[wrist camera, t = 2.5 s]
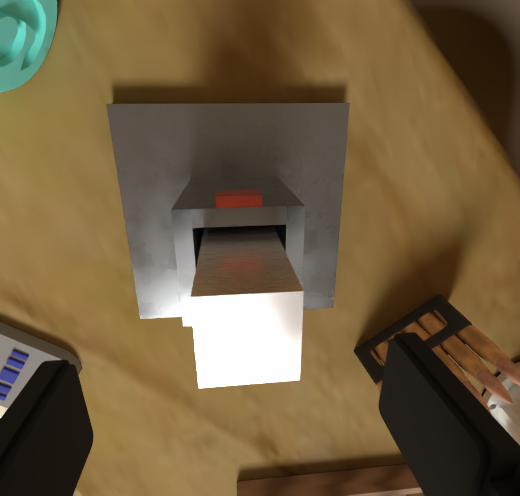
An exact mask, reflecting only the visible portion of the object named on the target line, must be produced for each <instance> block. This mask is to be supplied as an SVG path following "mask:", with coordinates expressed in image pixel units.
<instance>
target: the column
mask: <svg viewBox="0 0 520 496" xmlns="http://www.w3.org/2000/svg"><path fill="white" fill-rule="evenodd" d="M303 296H304V291H303V288H302V286H301V284H300V282H299V280H298V278H297V276H296V273H295V271H294V269H293V267H292V265H291V263H290V261H289V258H288V256H287V254H286V252H285V250H284V248H283V245H282V243H281V241H280V239H279V237H278V235H277V233H276V230H275V228H274V226H273V225H258V226H231V227H204V232H203V237H202V242H201V247H200V251H199V256H198V261H197V266H196V271H195V276H194V281H193V286H192V291H191V296H190V300H191V311H192V321H193V332H194V343H195V353H196V364H197V375H198V385H199V388H205V387H217V386H230V385H243V384H256V383H268V382H281V381H294V380H300V366H301V343H302V319H303Z"/></svg>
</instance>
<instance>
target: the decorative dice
mask: <svg viewBox="0 0 520 496" xmlns="http://www.w3.org/2000/svg"><path fill="white" fill-rule="evenodd" d="M56 21H57V0H0V92H5V91H9V90H12V89H15V88H17V87H19V86H21V85H22V84H24V83H25V82H26V81H28V80H29V79H30V78H31V77H32V76H33V75H34V74H35V72H36V71H37V70H38V68H39V67H40V66H41V64H42V62H43V61H44V59H45V57H46V55H47V53H48V51H49V48H50V46H51V43H52V40H53V36H54V32H55V28H56Z"/></svg>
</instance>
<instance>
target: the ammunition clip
mask: <svg viewBox="0 0 520 496" xmlns="http://www.w3.org/2000/svg"><path fill="white" fill-rule="evenodd" d="M444 324H445V325H446V326H445V325H444ZM425 331H426V332H427V333H428V334H429V335H430V336H431V337H430V336H429V335H428V334H427V333H426V332H425ZM408 332H415V333H417V334H418V335H419V336H420V337H421V338H422V340H423V341H424V342H425V343H426V344H427V345H428V346H429V347H430V348H431V349H432V350H433V351H434V353H435V354H436V355H437V356H438V357H439V358H440V359H441V360H442V361H443V362H444V363H445V365H446V366H447V367H448V368H449V369H450V370H451V371H452V372H453V373H454V374H455V375H456V377H457V378H458V379H459V380H460V381H461V382H462V383H463V384H464V385H465V386H466V387H467V388H468V390H469V391H470V392H471V393H472V394H473V395H474V396H475V397H476V398H477V399H478V400H479V402H480V403H481V404H482V405H483V406H484V407H485V408H486V409H487V410H488V411H489V412H490V409H489V407H488V405H487V403H486V402H485V400H484V399H483V397H482V396H481V395H480V393H479V392H478V391H477V390H476V388H475V387H474V386H473V385H472V384H471V382H470V381H469V380H468V379H467V378H466V377H465V375H464V373H463V372H462V370H461V369H460V368H459V366H460V367H462V368H463V369H464V370H465V371H466V372H468V373H469V374H471V375H472V376H473V377H474V378H475V379H476V380H477V381H479V382H480V383H481V384H482V385H483V386H484V387H485V388H486V389H487V390H488V391H490V392H491V393H492V394H493V395H495V396H496V397H498V398H499V399H501V400H502V401H504V402H506V403H508V404H513V401H512V398H511V396H510V394H509V393H508V391H507V390H506V388H505V387H504V386H503V385H502V383H501V382H500V381H499V380H498V379H497V378H496V377H495V376H494V375H493V374H492V373H491V372H490V370H489V369H488V368H487V367H486V366H485V365H484V364H483V363H482V361H481V360H480V358H479V357H478V356H477V355H476V354H478V355H479V356H480V357H481V358H482V359H484V360H485V361H487V362H489V363H490V364H491V365H493V366H494V367H495V368H496V369H498V370H499V371H500V372H501V373H503V374H504V375H505V376H506V377H507V378H509V379H510V380H512V381H513V382H514V383H516V384H518V385H519V386H520V368H519V367H518V366H517V365H516V364H515V363H513V362H512V361H511V360H510V359H509V358H508V357H507V356H506V355H505V354H504V353H503V352H502V351H501V350H500V349H499V347H498V346H497V345H496V344H495V343H494V342H492V341H491V340H490V339H489V338H488V337H486V336H485V335H484V334H483V333H482V332H480V331H479V330H478V329H477V328H476V327H474V326H473V325H472V324H471V322H470V321H468V320H467V319H466V318H465V317H464V316H463V315H462V314H461V313H460V312H459V311H458V310H456V309H455V308H454V307H453V306H452V305H451V304H450V303H449V302H448V301H447V300H446V299H444V298H443V297H442V296H441V295H436V296H435V297H433V298H432V299H430V300H429V301H427V302H426V303H424V304H423V305H421V306H420V307H418V308H417V309H415V310H414V311H412V312H411V313H409V314H408V315H406V316H405V317H403V318H402V319H400V320H399V321H397V322H396V323H394V324H393V325H391V326H390V327H388V328H387V329H385V330H384V331H382V332H381V333H379V334H377V335H376V336H374V337H373V338H371V339H370V340H368V341H367V342H365V343H364V344H362V345H361V346H359V347H358V348H356V349H355V350H354V352H355V354H356V355H357V357H358V358H359V360H360V362H361V363H362V365H363V366H364V368H365V369H366V371H367V372H368V374H369V375H370V377H371V378H372V380H373V381H374V383H375V385H376V387H377V388H378V390H379V392H380V393H381V386H382V380H383V374H384V368H385V366H384V365H385V362H386V355H387V349H388V343H389V340H390V339H393V337H394V335H395V334H397V333H408ZM454 334H455V335H454ZM438 344H439V345H440V346H441V347H440V346H439V345H438ZM465 344H467V345H468V346H469V347H470V348H471V349H472V350H473V351H474V352H475V353H476V354H475V353H474V352H473V351H471V350H470V349H469V348H468V347H467V346H466V345H465ZM448 354H449V355H450V356H451V357H452V358H453V359H454V360H455V361H456V362H457V363H458V365H459V366H458V365H457V364H456V363H455V362H454V361H453V360H452V359H451V358H450V357H449V356H448ZM380 359H381V360H382V362H383V363H384V365H383V364H382V362H381V361H380ZM490 413H491V412H490Z"/></svg>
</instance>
